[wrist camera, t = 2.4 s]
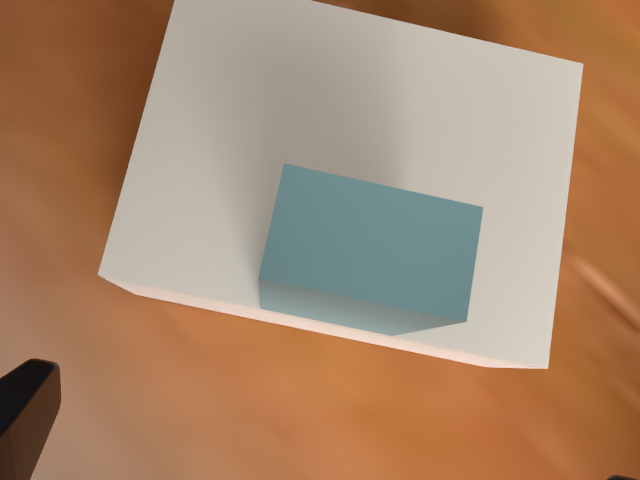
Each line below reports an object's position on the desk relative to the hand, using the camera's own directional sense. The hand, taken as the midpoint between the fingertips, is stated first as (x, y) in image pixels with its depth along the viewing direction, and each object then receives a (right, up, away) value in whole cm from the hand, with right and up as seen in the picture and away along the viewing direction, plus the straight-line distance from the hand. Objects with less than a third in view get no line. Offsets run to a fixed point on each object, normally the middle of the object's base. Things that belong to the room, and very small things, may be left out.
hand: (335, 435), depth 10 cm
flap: (+1, +5, +8) cm, 9 cm away
